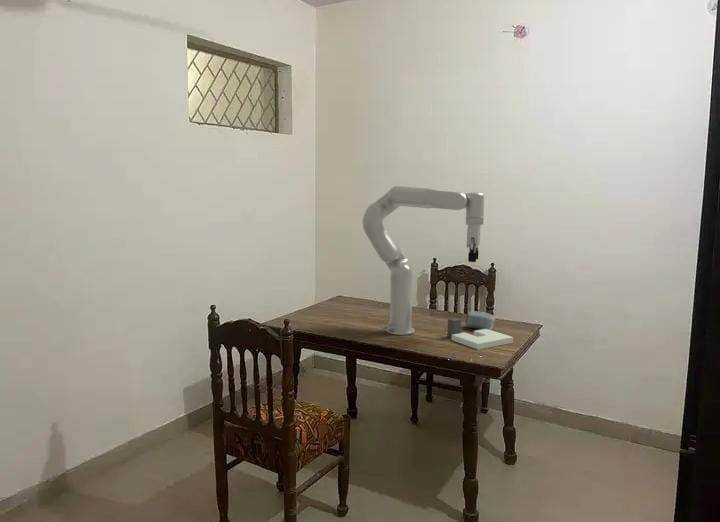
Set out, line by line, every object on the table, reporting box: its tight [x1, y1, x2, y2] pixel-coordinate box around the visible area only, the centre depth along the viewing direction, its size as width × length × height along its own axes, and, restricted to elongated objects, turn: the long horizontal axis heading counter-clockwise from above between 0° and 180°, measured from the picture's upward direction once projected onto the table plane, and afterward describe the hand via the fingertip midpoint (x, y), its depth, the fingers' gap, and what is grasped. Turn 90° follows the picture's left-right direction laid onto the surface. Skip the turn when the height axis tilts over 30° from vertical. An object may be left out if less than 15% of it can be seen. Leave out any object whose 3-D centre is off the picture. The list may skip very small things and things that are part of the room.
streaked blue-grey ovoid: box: [465, 310, 496, 330], centre depth 255 cm, size 14×10×10 cm
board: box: [451, 329, 514, 350], centre depth 235 cm, size 20×16×2 cm
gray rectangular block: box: [446, 317, 462, 339], centre depth 241 cm, size 4×4×8 cm
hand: (473, 260), depth 242 cm, fingers open, 9 cm apart
